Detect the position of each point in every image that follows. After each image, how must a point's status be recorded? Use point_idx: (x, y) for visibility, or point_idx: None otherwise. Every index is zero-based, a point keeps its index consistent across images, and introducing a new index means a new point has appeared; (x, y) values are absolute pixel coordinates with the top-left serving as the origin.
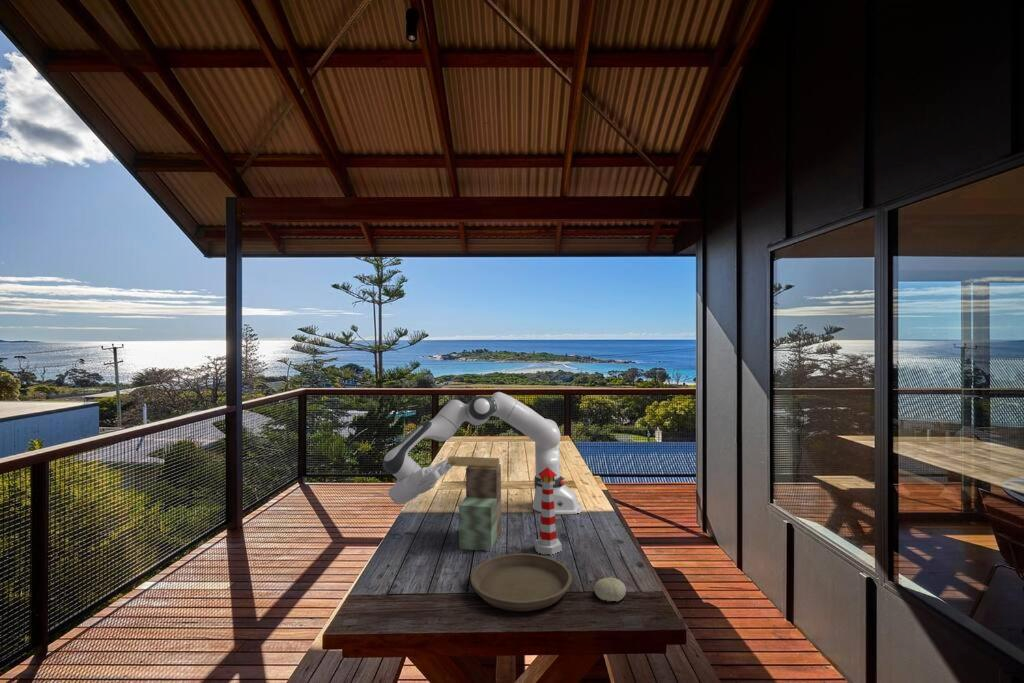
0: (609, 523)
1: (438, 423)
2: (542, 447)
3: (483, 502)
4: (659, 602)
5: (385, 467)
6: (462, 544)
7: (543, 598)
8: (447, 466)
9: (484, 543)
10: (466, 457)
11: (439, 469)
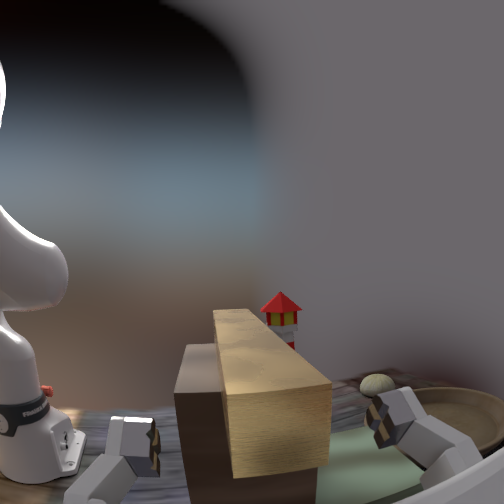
0: (137, 415)
1: None
2: None
3: (344, 450)
4: (359, 376)
5: None
6: None
7: (458, 388)
8: (413, 408)
9: None
10: (238, 340)
11: (474, 448)
